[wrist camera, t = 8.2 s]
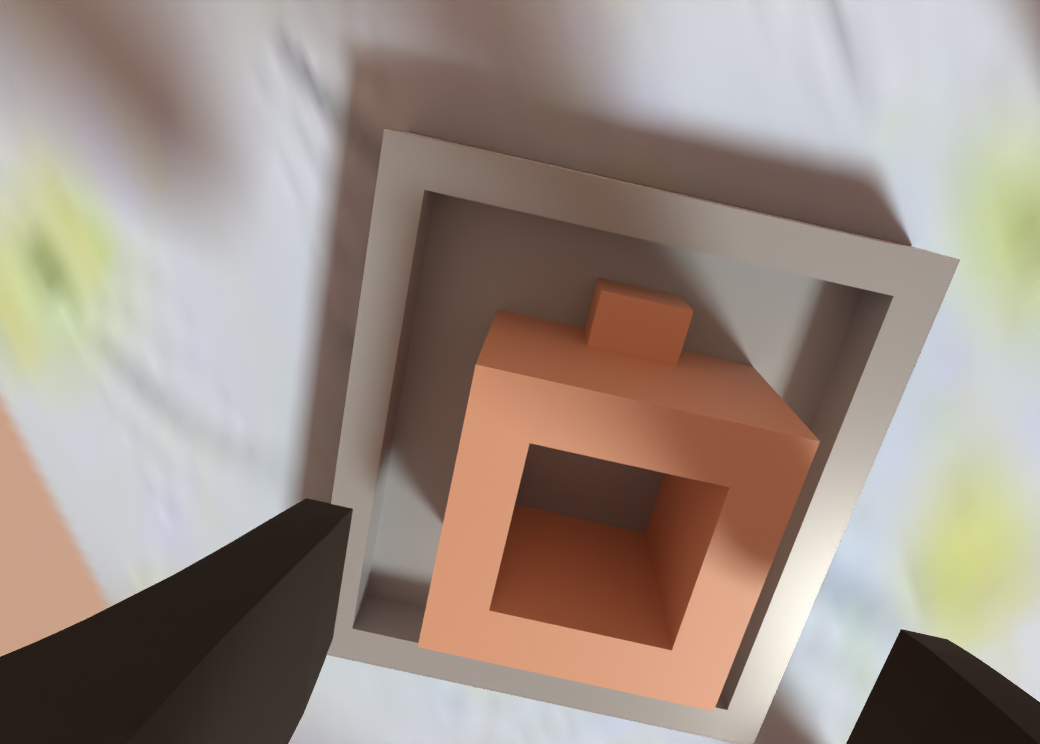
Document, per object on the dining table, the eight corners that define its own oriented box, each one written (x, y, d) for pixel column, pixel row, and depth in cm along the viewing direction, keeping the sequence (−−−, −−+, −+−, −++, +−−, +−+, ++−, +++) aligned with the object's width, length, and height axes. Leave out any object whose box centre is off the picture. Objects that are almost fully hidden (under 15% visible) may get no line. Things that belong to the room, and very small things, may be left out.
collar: (678, 582, 14) (713, 711, 11) (450, 532, 14) (417, 647, 11) (770, 316, 13) (846, 375, 9) (508, 257, 12) (489, 296, 9)
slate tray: (735, 693, 16) (752, 747, 14) (332, 605, 16) (309, 650, 14) (914, 247, 12) (960, 259, 11) (404, 131, 12) (384, 128, 11)
